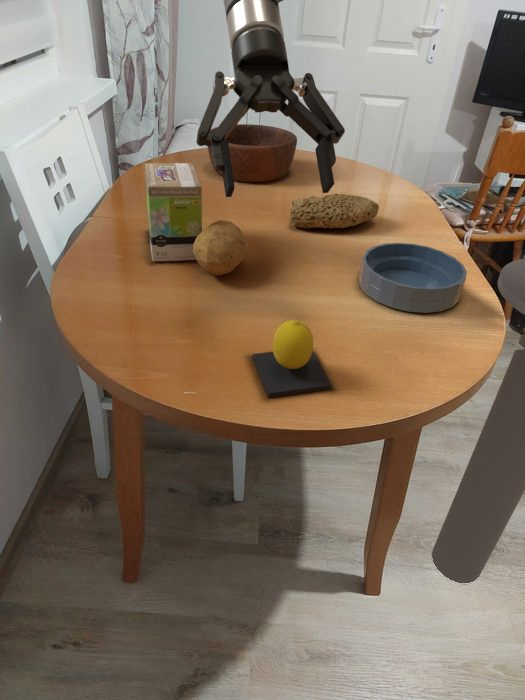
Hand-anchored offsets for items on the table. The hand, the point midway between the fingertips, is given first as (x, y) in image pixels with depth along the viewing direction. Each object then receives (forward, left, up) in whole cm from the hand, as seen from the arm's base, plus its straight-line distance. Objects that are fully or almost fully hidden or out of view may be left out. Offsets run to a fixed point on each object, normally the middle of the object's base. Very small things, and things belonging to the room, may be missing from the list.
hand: (280, 190), depth 69 cm
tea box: (+11, -34, -23) cm, 43 cm away
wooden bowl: (-16, -80, -23) cm, 85 cm away
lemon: (0, +11, -22) cm, 24 cm away
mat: (0, +11, -23) cm, 25 cm away
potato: (+4, -22, -23) cm, 32 cm away
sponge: (-26, -40, -23) cm, 53 cm away
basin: (-29, -9, -23) cm, 38 cm away
